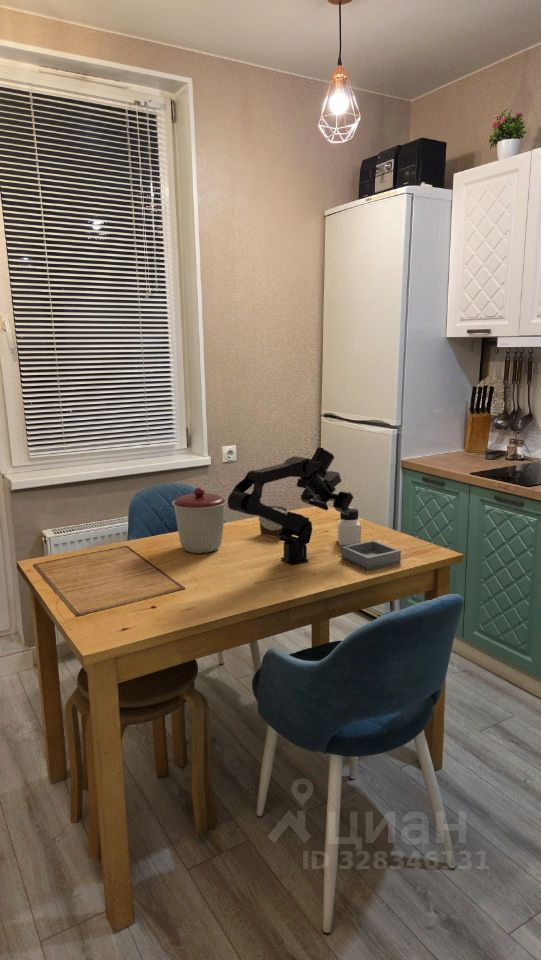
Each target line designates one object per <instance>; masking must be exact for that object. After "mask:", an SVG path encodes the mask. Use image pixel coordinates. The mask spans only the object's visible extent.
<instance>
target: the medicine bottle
mask: <svg viewBox="0 0 541 960" xmlns="http://www.w3.org/2000/svg"><path fill="white" fill-rule="evenodd" d="M349 512H350V513H349V515H345V514H343V513H341V512H339V515H340V518H339V519H338V520H337V541H338V545H339V546H348V545H353V544H358V543H361V532H362V531H361V529H362V528H361V527H362V525H361V524H360V521H359V510H358V509H357V508H355V507H349Z"/></svg>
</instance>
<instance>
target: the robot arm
mask: <svg viewBox="0 0 541 960" xmlns="http://www.w3.org/2000/svg"><path fill="white" fill-rule="evenodd" d="M311 457H312V458H308V457H302V456H291V457H289V458H288V459H285V461H284V462H282V463H280V464H276V465H272V466H267V467H263V468H259V469H252V470H249V471H248V472H246V475H245V477H243V479H242V480H241V481H239V482H238V483H237V484H236V485H235V486H234V488H233V490H232V491H231V493H230V494H229V495H228V498H227V505H228V507H227V508H228V509H230V510H231V511H235V512H239V513H243V514H246V515H250V516H251V515H252V516H256V517H258V518H259V517H261V518H263V519H265V520H268V521H270V522H272V523H275V524H277V525H279V526H281V527H282V530H281V532H280V534H279V541H282V542H283V557H280V560H281V561H284V562H285V563H287V564H289V565H291V566H293V565H297V564H302V563H307V562H309V559H308V558H307V557H308V556H307V555H308V554H307V552H308V550H307V544H310V540H311V536H312V533H313V525H312V521H311V520H310V517H306V516H304V515H303V514H300V513H295V512H292V511H288V512H287V515H286V514H284V513H281V512H279V511H277V510H275V509H273V508H270V507H268V506H269V505H266V504H264V503H262V501H261V499H262V496H263V487H264V486H265V484H267V483H272V482H275V481H279V480H282V479H283V480H284V479H286V478H291V477H293V478H294V477H295V478H298V479H297V482H296V487H297V488H300V489H301V488H302V489H304V490H303V491H302V493H301V495H300V500H301V501H302V503H303V504H304V503H305V504H307V505H310V506H313V507H315V508H318V509H321V510H324V511H328V510H329V506H328V505H327V503H328V502H329V501H332V502H333V503H332V504H333V506H332V507H333V508H334V510H335V511H337V512H338V513H340V512H341V513H343V514H345V515H349V513H350V512H349V508H350V505H351V503H352V501H353V499H354V496H353V494H352V493H351V492H349V491H343V490H341V491H339V492H338V493H334V492H335V491H336V490H337V489H336V486H337V485H338V484H341V482H342V479H341V475H340V473H339V472H338V471H334V470H332V471H331V470H330V471H328V469H330V467H331V465H332V463H333V461H334V460H335V456H334V454H333V453H331V452H329V451H328V450H326V449H325V448H323V447H319V446H318V447H317V448H316V450H315V452H314V454H313V455H312V456H311ZM252 486H253V487H252ZM251 487H252V488H253V489H252V491H251V493H248V492H246V491H247V490H249V489H250V488H251Z"/></svg>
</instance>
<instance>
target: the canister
mask: <svg viewBox="0 0 541 960" xmlns="http://www.w3.org/2000/svg"><path fill="white" fill-rule="evenodd" d="M171 504H172V507H174V515H175V520H176V526H177V531H178V532H177V533H178V537H179V543H180V546H181V548H182V549H183V550H185V551H186V552H189V553H192V554H207V553H211V552H215V551H216V550H218V549H220V546H221V544H222V540H223V533H224V523H225V510H226V504H228V499H227V498H225V497H224V496H222V495H219V494H216V493H208V492H206V491H205V489H204V488H203V487H196V488H195V489H193V493H187V494H184V495H181V496H180V495H179V496H178V497H177V498H176V499H174V500H173V501H172V502H171Z"/></svg>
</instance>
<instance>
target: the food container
mask: <svg viewBox="0 0 541 960" xmlns="http://www.w3.org/2000/svg"><path fill="white" fill-rule="evenodd" d="M267 506H268V507H270V508H273V509H275V510H277V511H279V512H281V513H284V514H286V515H287V512H289V510H288V508H287V507H285V506H283V505H267ZM258 521H259V530H260V531H259V532H260V535H261V534H263V535H262V536H266V535H269V536H268V537H272V536H275V537H274V538H278V537H279V534H280V532H281V530H282V527H281V526H279V525H277V524H275V523H272V522H270V521H268V520H265V519H263V518H261V517H258Z"/></svg>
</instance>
